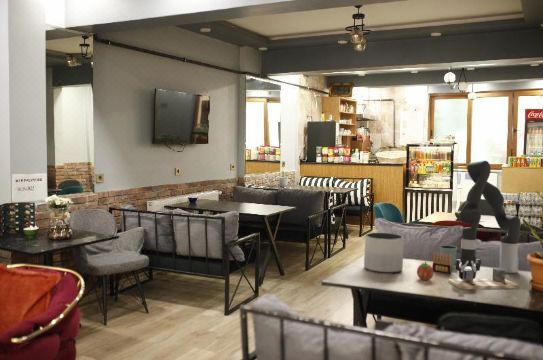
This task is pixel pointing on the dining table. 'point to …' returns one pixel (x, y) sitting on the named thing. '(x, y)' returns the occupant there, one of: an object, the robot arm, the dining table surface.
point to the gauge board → (486, 282)
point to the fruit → (425, 271)
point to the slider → (468, 275)
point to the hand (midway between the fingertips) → (467, 278)
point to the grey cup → (449, 250)
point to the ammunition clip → (442, 263)
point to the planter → (383, 252)
